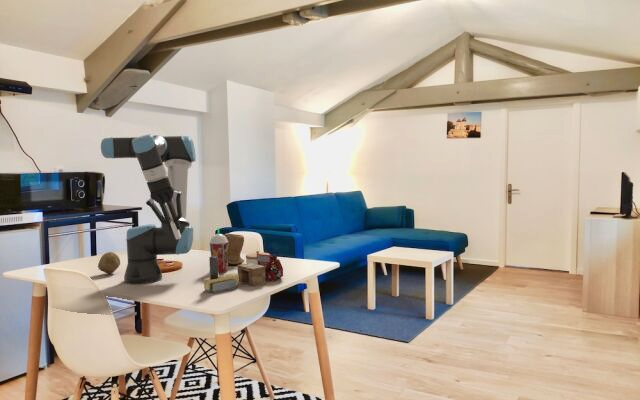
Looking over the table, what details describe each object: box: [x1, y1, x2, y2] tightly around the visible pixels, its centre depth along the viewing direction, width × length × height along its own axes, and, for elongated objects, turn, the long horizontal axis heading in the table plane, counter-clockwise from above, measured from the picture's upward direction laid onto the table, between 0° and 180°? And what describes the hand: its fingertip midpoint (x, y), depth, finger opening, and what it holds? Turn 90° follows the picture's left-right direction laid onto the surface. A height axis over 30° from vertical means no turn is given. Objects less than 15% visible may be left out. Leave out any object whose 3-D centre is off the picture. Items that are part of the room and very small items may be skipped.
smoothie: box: [209, 227, 229, 274], centre depth 210 cm, size 8×8×20 cm
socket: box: [236, 263, 267, 287], centre depth 187 cm, size 11×6×7 cm, turn 42°
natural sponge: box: [97, 251, 121, 274], centre depth 211 cm, size 9×9×10 cm
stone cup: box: [223, 233, 245, 265], centre depth 228 cm, size 15×12×15 cm
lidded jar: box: [245, 250, 271, 265], centre depth 208 cm, size 11×11×9 cm
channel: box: [204, 279, 238, 294], centre depth 178 cm, size 7×10×4 cm, turn 132°
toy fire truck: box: [257, 254, 284, 282], centre depth 193 cm, size 7×12×10 cm, turn 60°
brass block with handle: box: [203, 256, 240, 290], centre depth 178 cm, size 4×13×12 cm, turn 131°
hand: (178, 237), depth 172 cm, fingers closed
